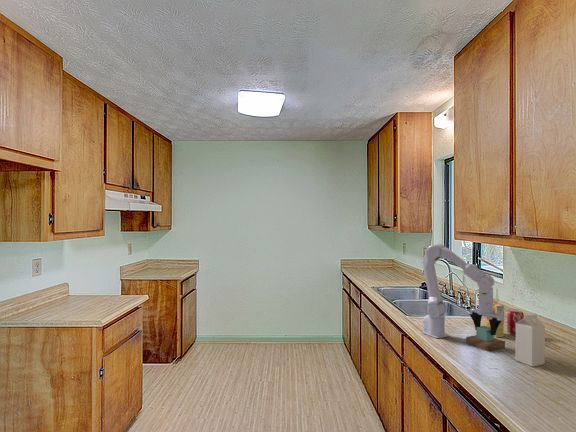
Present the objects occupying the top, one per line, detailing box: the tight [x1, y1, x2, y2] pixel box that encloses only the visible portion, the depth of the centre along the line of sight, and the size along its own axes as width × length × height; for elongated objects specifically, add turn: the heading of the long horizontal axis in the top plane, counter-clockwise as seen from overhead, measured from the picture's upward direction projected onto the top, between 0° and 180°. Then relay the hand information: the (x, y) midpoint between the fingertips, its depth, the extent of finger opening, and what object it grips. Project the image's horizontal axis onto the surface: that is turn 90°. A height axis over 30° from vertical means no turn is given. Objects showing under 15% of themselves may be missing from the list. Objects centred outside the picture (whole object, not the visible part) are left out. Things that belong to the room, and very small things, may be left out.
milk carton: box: [514, 313, 546, 367], centre depth 149 cm, size 7×7×19 cm
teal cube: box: [475, 325, 495, 342], centre depth 168 cm, size 5×5×5 cm
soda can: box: [506, 308, 524, 337], centre depth 185 cm, size 7×7×12 cm
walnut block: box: [465, 334, 506, 352], centre depth 168 cm, size 11×11×4 cm
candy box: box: [484, 301, 505, 338], centre depth 185 cm, size 9×4×15 cm, turn 6°
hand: (485, 332), depth 168 cm, fingers open, 7 cm apart
